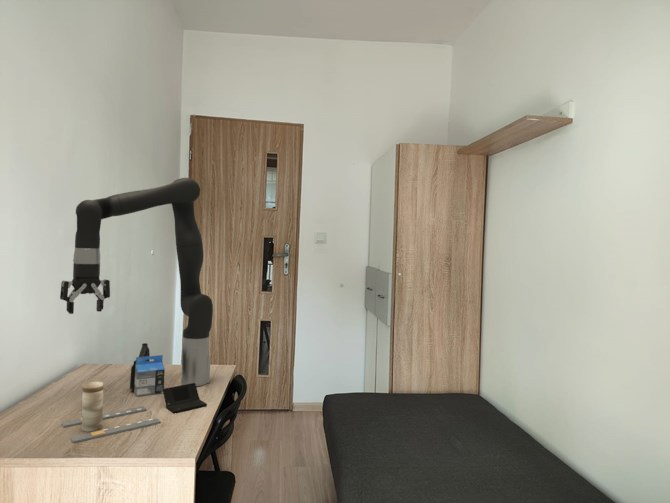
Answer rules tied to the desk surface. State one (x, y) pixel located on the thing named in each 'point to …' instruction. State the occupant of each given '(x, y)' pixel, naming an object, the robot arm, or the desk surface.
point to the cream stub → (92, 406)
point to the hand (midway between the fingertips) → (85, 312)
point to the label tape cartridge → (149, 375)
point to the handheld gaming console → (182, 398)
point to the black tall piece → (143, 353)
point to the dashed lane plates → (111, 430)
